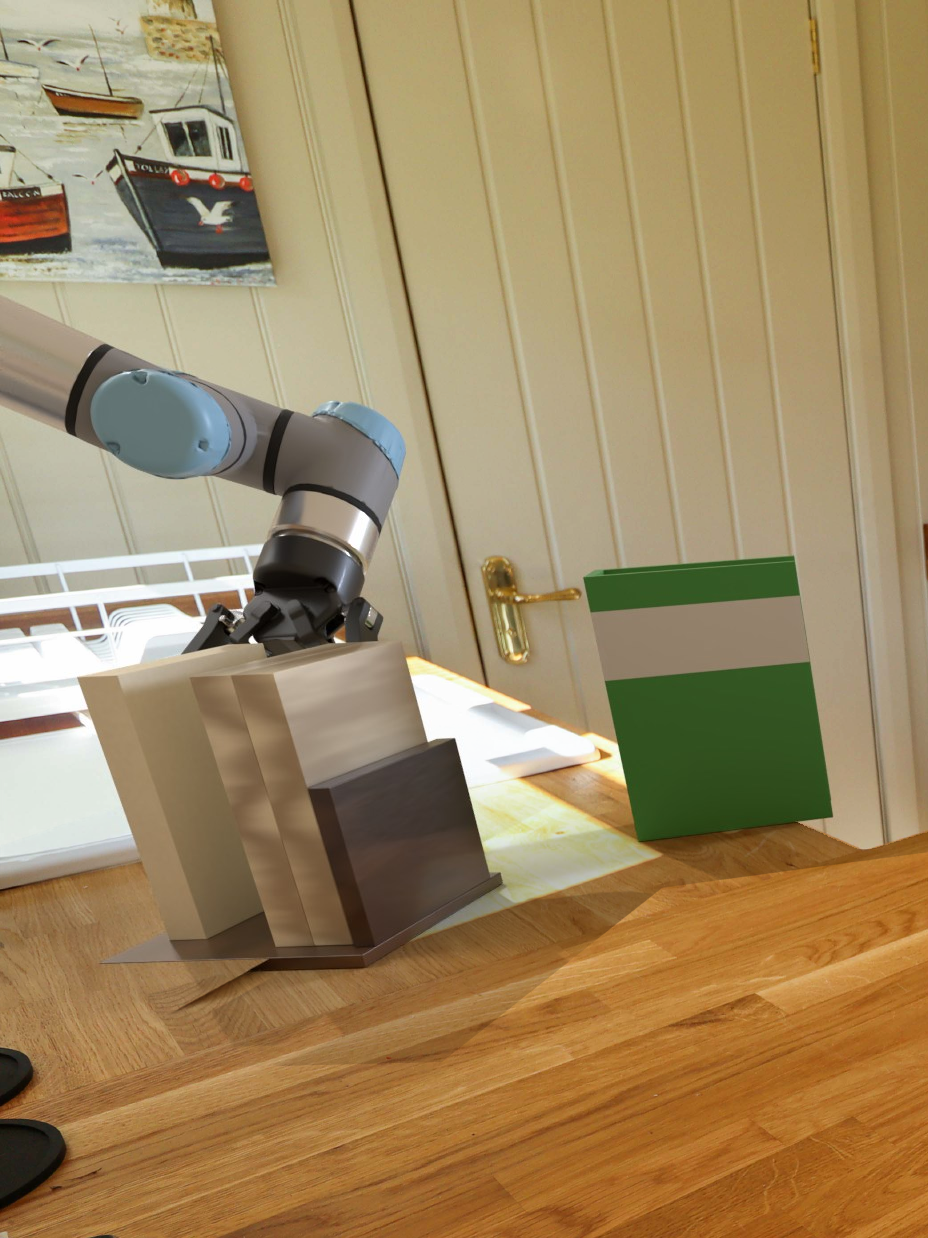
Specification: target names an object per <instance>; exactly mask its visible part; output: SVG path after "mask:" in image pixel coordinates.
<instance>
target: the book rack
mask: <svg viewBox="0 0 928 1238" xmlns="http://www.w3.org/2000/svg"><path fill="white" fill-rule="evenodd" d="M189 678H190V681H191V684H192V688H193V691H194V694H195V697H196V700H197V703H198V706H199V709H200V713H201V716H202V719H203V722H204V725H205V728H206V731H207V734H208V737H209V741H210V744H211V747H212V750H213V753H214V756H215V759H216V762H217V765H218V769H219V772H220V775H221V778H222V781H223V784H224V787H225V790H226V793H227V797H228V800H229V803H230V806H231V809H232V812H233V815H234V818H235V821H236V825H237V828H238V831H239V834H240V837H241V840H242V843H243V846H244V850H245V853H246V856H247V859H248V862H249V865H250V868H251V871H252V874H253V878H254V881H255V884H256V887H257V890H258V893H259V896H260V899H261V902H262V906H263V909H264V911H263V912H261V913H259V914H257V915H255V916H253V917H251V918H249V919H247V920H245V921H243V922H241V923H239V924H237V925H235V926H233V927H231V928H228V929H226V930H224V931H222V932H220V933H218V934H216V935H214V936H212V937H210V938H208V939H197V940H169V938H168V935H167V932H166V931H164V932H162V933H160V934H158V935H155V936H153V937H151V938H149V939H146V940H145V941H142V942H140V943H138V944H136V945H134V946H132V947H130V948H128V949H125V950H124V951H121V952H119V953H117V954H115V955H113V956H111V957H108V958H106V959H104V960H102V961H100V962H99V963H98V964H99V965H107V964H109V965H110V964H141V963H145V964H146V963H175V962H177V963H178V962H207V961H210V962H211V961H212V962H213V961H243V960H244V961H245V960H246V961H247V960H264V961H263V962H261V963H259V964H257V965H255V966H253V967H252V968H249V969H248V970H247V972H253V971H255V972H256V971H285V970H286V971H288V970H289V971H291V970H321V969H323V970H324V969H326V970H327V969H353V968H354V969H358V968H367V967H368V966H370V965H372V964H374V963H376V962H377V961H378V960H381V959H382V958H383V957H385V956H387V955H388V954H390V953H392V952H393V951H395V950H396V949H398V948H399V947H401V946H402V945H405V944H406V943H408V942H410V941H412V940H413V939H414V938H416V937H418V936H419V935H420V934H423V933H424V932H426V931H427V930H429V929H431V928H433V927H434V926H435V925H437V924H438V923H440V922H442V921H443V920H445V919H446V918H448V917H450V916H451V915H453V914H455V913H456V912H458V911H460V910H461V909H463V908H465V907H467V906H468V905H470V904H472V903H473V902H475V901H476V900H478V899H479V898H481V897H482V896H484V895H486V894H487V893H489V892H490V891H492V890H494V889H495V888H497V887H498V886H501V885H502V884H503V883H504V880H503V876H502V873H501V872H500V871H498V872H497V871H495V872H491V871H490V870H489V866H488V861H487V858H486V854H485V850H484V845H483V842H482V838H481V834H480V831H479V826H478V823H477V819H476V815H475V811H474V807H473V804H472V803H473V802H472V799H471V798H472V797H471V795H470V791H469V787H468V783H467V779H466V775H465V771H464V768H463V767H464V766H463V764H462V759H461V755H460V751H459V748H458V744H457V740H456V739H457V738H456V737H446V738H445V737H444V738H435V739H432V740H429V741H428V737H427V734H426V730H425V725H424V722H423V718H422V714H421V709H420V707H419V702H418V699H417V694H416V692H415V688H414V683H413V679H412V676H411V671H410V667H409V664H408V660H407V656H406V653H405V649H404V645H403V642H402V640H400V639H399V640H397V639H396V640H378V641H374V642H351V643H346V642H335V643H329V644H325V645H320V646H316V647H312V648H308V649H303V650H299V651H295V652H291V653H287V654H282V655H278V656H274V657H270V658H265V659H261V660H257V661H253V662H249V663H244V664H240V665H236V666H232V667H227V668H223V669H219V670H215V671H211V672H206V673H202V674H198V675H194V676H190V677H189Z"/></svg>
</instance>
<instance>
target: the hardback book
mask: <svg viewBox="0 0 928 1238" xmlns="http://www.w3.org/2000/svg"><path fill="white" fill-rule="evenodd" d="M795 557H796V556H795V554H794V555H793V554H792V555H780V556H768V557H767V556H766V557H751V558H740V559H727V560H726V559H725V560H710V561H699V562H697V561H696V562H686V563H685V562H684V563H672V564H671V563H670V564H659V565H656V564H655V565H644V566H632V567H631V566H630V567H629V566H628V567H617V568H605V569H603V568H602V569H594V570H592V571H591V572H589V573H587V574H586V575H585V576H583V577H582V580H583V584H584V588H585V594H586V599H587V603H588V609H589V612H590V617H591V618H590V619H591V622H592V627H593V633H594V636H595V642H596V646H597V647H596V648H597V651H598V655H599V661H600V666H601V670H602V676H603V679H604V680H603V681H604V684H605V689H606V695H607V700H608V705H609V709H610V713H611V719H612V723H613V729H614V732H615V738H616V743H617V747H618V752H619V756H620V757H619V758H620V762H621V767H622V770H623V776H624V782H625V786H626V790H627V794H628V800H629V804H630V810H631V814H632V819H633V824H634V829H635V832H636V834H635V835H636V838H637V842H638V843H639V842H647V841H654V840H663V839H670V838H671V839H672V838H678V837H687V836H688V837H689V836H696V835H704V834H709V833H710V834H711V833H719V832H726V831H735V830H744V829H753V828H760V827H767V826H775V825H782V824H783V825H784V824H791V823H792V824H793V823H799V822H808V821H816V820H824V819H831V818H834V811H833V806H832V797H831V796H832V795H831V789H830V783H829V776H828V770H827V764H826V763H827V762H826V756H825V750H824V744H823V743H824V742H823V736H822V729H821V722H820V716H819V710H818V704H817V703H818V702H817V696H816V689H815V684H814V683H815V682H814V677H813V671H812V664H811V658H810V657H811V656H810V650H809V644H808V637H807V630H806V624H805V617H804V610H803V605H802V603H803V602H802V597H801V591H800V585H799V579H798V571H797V565H796V558H795Z"/></svg>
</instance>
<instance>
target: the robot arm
mask: <svg viewBox="0 0 928 1238" xmlns="http://www.w3.org/2000/svg"><path fill="white" fill-rule="evenodd" d="M0 407H3V408H5V409H8V410H10V411H13V412H15V413H18V414H21V415H22V416H24V417H27V418H30V419H32V420H34V421H36V422H39V423H42V424H44V425H46V426H48V427H51V428H54V429H55V430H58V431H61V432H62V433H65V434H68V435H70V436H72V437H75V438H77V439H79V440H81V441H83V442H85V443H87V444H89V445H91V446H93V447H97V448H98V449H101V450H103V451H106V452H109V453H111V454H112V455H113V456H114V457H115V458H116V459H118V460H119V461H120V462H122V463H124V464H125V465H127V466H129V467H130V468H133V469H135V470H137V471H140V472H143V473H144V474H145V473H146V474H148V475H152V476H154V477H158V478H161V479H167V480H187V479H192V478H198V477H216V478H219V479H222V480H225V481H228V482H232V483H236V484H239V485H242V486H245V487H249V488H253V489H256V490H258V491H263V492H265V493H267V494H270V495H272V496H279V497H281V499H280V502H279V505H278V507H277V509H276V511H275V514H274V517H273V518H272V521H271V524H270V527H269V529H268V531H267V535H266V541H265V542H264V544H263V546H262V548H261V552H260V553H259V556H258V559H257V561H256V564H255V566H254V569H253V572H252V581H253V587H254V596H252V599H251V600H250V601H249V602H248V603H247V604H246V605H245V606H244V608H236V609H235V608H234V609H229V608H228V607H226V606H225V605H224V604H222V603H220V602H217V603H213V604H212V605H211V606H210V607H209V609H208V611H207V614H206V617H205V619H204V622H203V625H202V626H201V628H199V630H198V631H197V632H196V634H195V635H194V636H193V637H192V640H190V642H189V643H188V644H187V645H186V647H185V648H184V649H183V651H182V652H181V653H180V655H182V654H187V653H191V652H196V651H201V650H205V649H210V648H215V647H219V646H224V645H232V644H252V643H251V642H250V639H251V638H252V637H253V640H254V642H255V643H263V645H264V649H265V652H266V656H267V658H270V657H274V656H278V655H282V654H287V653H291V652H295V651H299V650H303V649H308V648H312V647H316V646H320V645H325V644H329V643H336V640H335V635H336V634H337V633H338V632H339V631H340V630H341V629H343V628H344V635H345V643H351V642H374V641H379V633H380V630H381V628H382V625H383V623H384V616H383V614H381V613H380V611H378V610H377V609H376V608H375V607H374V606H373V605H372V604H371V603H370V602H369V601H368V600H367V599H366V598H365V597H363V596H361V594H362V591H363V587H364V585H365V581H366V579H365V578H366V577H365V576H366V575H367V573H368V570H369V568H370V566H371V562H372V559H373V556H374V554H375V551H376V547H377V545H378V542H379V539H380V536H381V533H382V530H383V528H384V524H385V523H386V520H387V516H388V513H389V511H390V508H391V506H392V502H393V500H394V498H395V495H396V492H397V490H398V487H399V483H400V477H401V473H402V469H403V466H404V463H405V458H406V454H407V449H406V443H405V440H404V437H403V435H402V433H401V431H400V430H399V429H398V428H397V427H396V426H395V424H394V423H393V422H392V421H391V420H389V419H388V418H387V417H386V416H384V415H383V414H382V413H380V412H378V411H377V410H375V409H373V408H371V407H369V406H366V405H364V404H361V403H358V402H354V401H347V402H341V401H340V400H328V401H327V402H324V403H321V404H320V405H319V406H318V407H317V408H316V409H315V411H314V412H312V414H311V415H307V414H305V413H302V412H299V411H294V410H290V409H288V408H282V407H279V406H277V405H274V404H271V403H268V402H266V401H263V400H260V399H257V398H255V397H252V396H249V395H247V394H244V393H241V392H238V391H237V390H232V389H230V388H227V387H224V386H221V385H218V384H216V383H214V382H210V381H207V380H204V379H201V378H199V377H198V376H195V375H193V374H191V373H187V372H183V371H180V370H173V369H171V368H167V367H163V366H160V365H156V364H154V363H152V362H149V361H147V360H145V359H144V358H141V357H138V356H136V355H135V354H132V353H129V352H127V351H125V350H123V349H120V348H117V347H115V346H112V345H110V344H108V343H107V342H104V341H102V340H100V339H98V338H96V337H94V336H92V335H89V334H88V333H85V332H83V331H80V330H79V329H76V328H74V327H72V326H70V325H67V324H65V323H63V322H62V321H58V319H57V320H56V319H54V318H52V317H50V316H47V315H45V314H43V313H41V312H39V311H37V310H35V309H33V308H30V307H28V306H25V304H24V305H23V304H21V303H19V302H18V301H14V300H12V299H10V298H8V297H6V296H4V295H2V294H0Z"/></svg>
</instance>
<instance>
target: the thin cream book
mask: <svg viewBox="0 0 928 1238" xmlns="http://www.w3.org/2000/svg"><path fill="white" fill-rule="evenodd" d="M265 658H267V656H266V652H265V649H264V645H263V643H257V642H255V643H251V644H232V645H224V646H219V647H215V648H210V649H205V650H201V651H196V652H191V653H187V654H182V655H181V654H178V655H173V656H168V657H162V658H160V659H159V658H158V659H155V660H151V661H145V662H140V663H136V664H131V665H125V666H122V667H117V668H112V669H108V670H104V671H99V672H93V673H90V674H89V673H88V674H85V675H79V676H77V677H76V679H77V681H78V685H79V688H80V690H81V693H82V696H83V699H84V702H85V704H86V707H87V710H88V713H89V716H90V719H91V721H92V724H93V727H94V729H95V733H96V736H97V738H98V742H99V744H100V747H101V750H102V753H103V756H104V758H105V761H106V764H107V767H108V769H109V770H108V771H109V772H110V776H111V778H112V781H113V784H114V787H115V789H116V792H117V795H118V798H119V802H120V804H121V807H122V810H123V812H124V815H125V817H126V821H127V823H128V826H129V829H130V833H131V835H132V838H133V842H134V844H135V847H136V850H137V852H138V855H139V858H140V861H141V863H142V867H143V869H144V872H145V875H146V878H147V881H148V883H149V886H150V889H151V892H152V895H153V897H154V900H155V903H156V906H157V909H158V912H159V915H160V919H161V920H162V924H163V926H164V929H165V932H167V935H168V938H169V940H197V939H208V938H210V937H212V936H214V935H216V934H218V933H220V932H222V931H224V930H226V929H228V928H231V927H233V926H235V925H237V924H239V923H241V922H243V921H245V920H247V919H249V918H251V917H253V916H255V915H257V914H259V913H261V912H263V911H264V909H263V906H262V902H261V899H260V896H259V893H258V890H257V887H256V884H255V881H254V878H253V874H252V871H251V868H250V865H249V862H248V859H247V856H246V853H245V850H244V846H243V843H242V840H241V837H240V834H239V831H238V828H237V825H236V821H235V818H234V815H233V812H232V809H231V806H230V803H229V800H228V797H227V793H226V790H225V787H224V784H223V781H222V778H221V775H220V772H219V769H218V765H217V762H216V759H215V756H214V753H213V750H212V747H211V744H210V741H209V737H208V734H207V731H206V728H205V725H204V722H203V719H202V716H201V713H200V709H199V706H198V703H197V700H196V697H195V694H194V691H193V688H192V684H191V681H190V678H189V677H190V676H194V675H198V674H202V673H206V672H211V671H215V670H219V669H223V668H227V667H232V666H236V665H240V664H244V663H249V662H253V661H257V660H261V659H265Z"/></svg>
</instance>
